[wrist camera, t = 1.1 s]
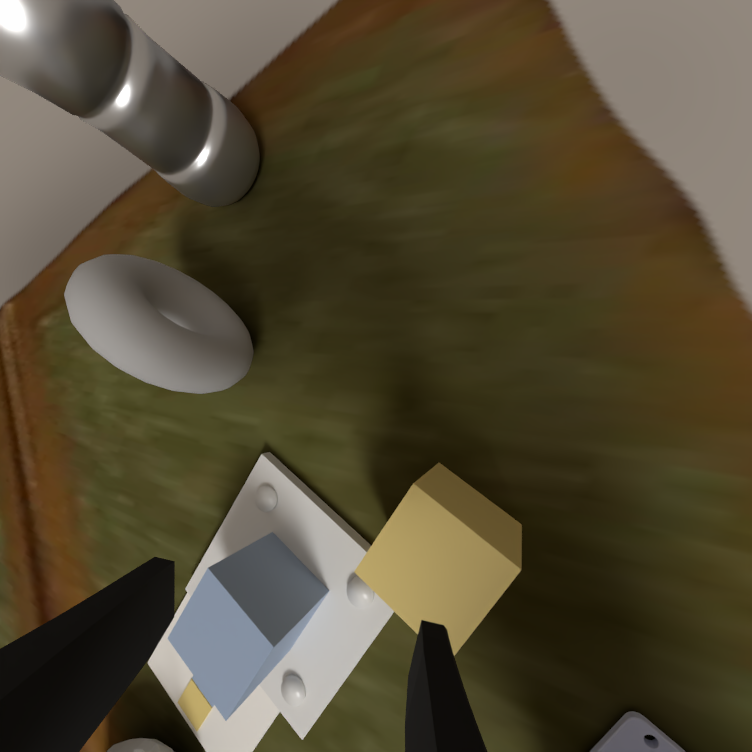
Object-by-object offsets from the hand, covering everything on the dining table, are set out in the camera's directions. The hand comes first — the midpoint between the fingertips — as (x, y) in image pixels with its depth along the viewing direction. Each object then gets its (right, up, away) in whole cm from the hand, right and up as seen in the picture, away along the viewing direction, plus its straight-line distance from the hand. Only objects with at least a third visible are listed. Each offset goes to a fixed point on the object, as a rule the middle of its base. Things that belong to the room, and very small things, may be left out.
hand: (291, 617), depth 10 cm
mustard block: (+6, -1, +9) cm, 11 cm away
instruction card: (-9, -14, +15) cm, 23 cm away
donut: (-8, +10, +16) cm, 20 cm away
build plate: (-3, -7, +13) cm, 15 cm away
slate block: (-4, -7, +12) cm, 14 cm away
